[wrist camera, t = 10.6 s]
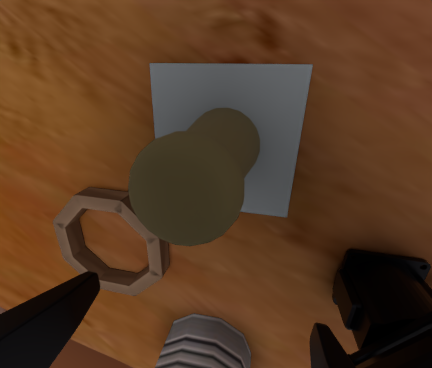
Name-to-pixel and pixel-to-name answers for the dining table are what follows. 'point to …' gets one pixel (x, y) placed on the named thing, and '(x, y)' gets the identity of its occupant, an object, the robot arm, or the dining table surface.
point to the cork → (195, 178)
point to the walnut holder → (87, 261)
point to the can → (204, 345)
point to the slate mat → (251, 107)
